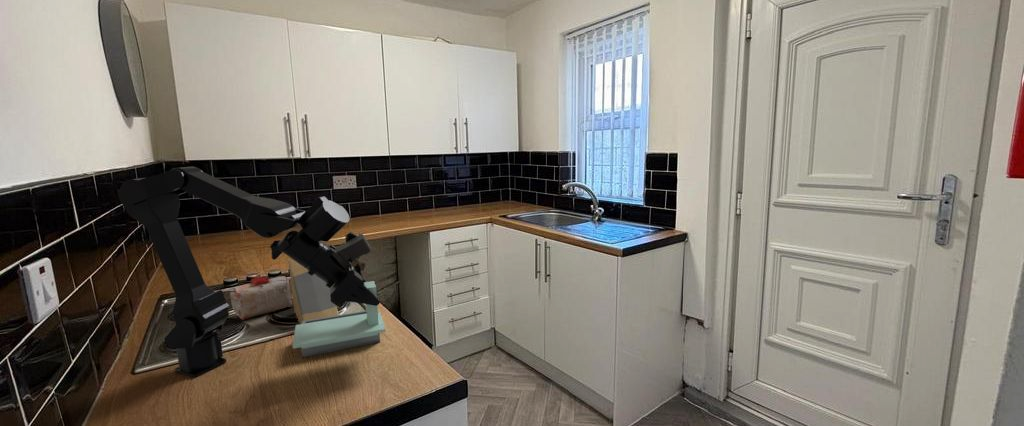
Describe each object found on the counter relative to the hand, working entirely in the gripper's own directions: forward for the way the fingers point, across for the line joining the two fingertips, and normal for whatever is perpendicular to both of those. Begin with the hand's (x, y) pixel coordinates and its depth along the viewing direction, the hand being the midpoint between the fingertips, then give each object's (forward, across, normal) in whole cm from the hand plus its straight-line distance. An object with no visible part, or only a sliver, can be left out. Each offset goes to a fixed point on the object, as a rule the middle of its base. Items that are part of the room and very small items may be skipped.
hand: (377, 300), depth 88 cm
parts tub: (+4, +11, +14) cm, 18 cm away
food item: (-10, +38, +28) cm, 48 cm away
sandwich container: (0, +26, +18) cm, 32 cm away
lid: (-1, 0, +10) cm, 10 cm away
